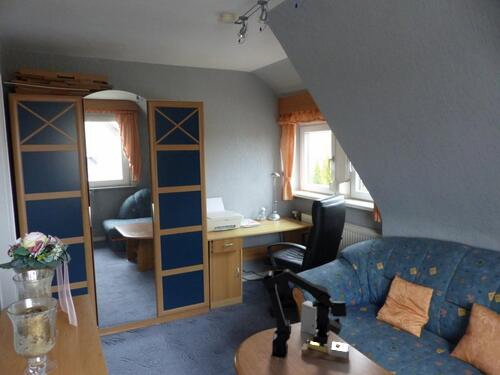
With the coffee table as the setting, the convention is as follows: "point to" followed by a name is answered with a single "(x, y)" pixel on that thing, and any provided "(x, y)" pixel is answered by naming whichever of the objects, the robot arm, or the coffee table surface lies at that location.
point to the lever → (316, 346)
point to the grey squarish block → (339, 349)
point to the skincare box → (308, 318)
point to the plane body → (322, 354)
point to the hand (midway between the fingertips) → (322, 346)
